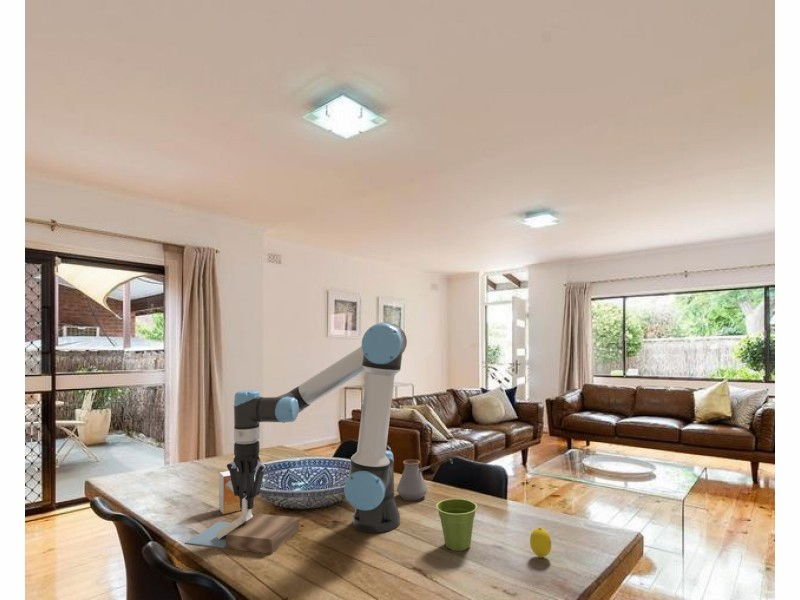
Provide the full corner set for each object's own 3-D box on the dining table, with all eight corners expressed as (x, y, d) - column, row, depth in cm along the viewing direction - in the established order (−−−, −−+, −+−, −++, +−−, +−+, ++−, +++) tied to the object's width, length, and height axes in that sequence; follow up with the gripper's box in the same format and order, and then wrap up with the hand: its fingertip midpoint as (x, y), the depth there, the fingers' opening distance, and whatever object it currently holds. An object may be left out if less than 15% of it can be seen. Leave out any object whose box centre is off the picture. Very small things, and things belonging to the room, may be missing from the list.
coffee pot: (393, 501, 174) (392, 459, 175) (401, 490, 185) (401, 451, 186) (450, 505, 168) (449, 462, 169) (456, 494, 179) (455, 454, 180)
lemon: (535, 551, 132) (534, 521, 133) (555, 556, 129) (554, 526, 129) (527, 558, 128) (526, 528, 128) (547, 565, 124) (545, 533, 125)
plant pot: (430, 541, 140) (429, 502, 141) (466, 534, 144) (464, 496, 145) (448, 559, 129) (447, 516, 130) (486, 550, 133) (485, 509, 134)
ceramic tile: (253, 516, 150) (250, 510, 150) (237, 526, 142) (234, 520, 143) (234, 528, 151) (231, 523, 152) (218, 539, 144) (215, 533, 144)
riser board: (299, 530, 150) (298, 517, 150) (271, 554, 134) (271, 539, 134) (257, 526, 154) (257, 513, 154) (226, 548, 138) (226, 534, 139)
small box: (223, 515, 164) (223, 476, 165) (218, 509, 169) (218, 472, 170) (246, 509, 169) (246, 472, 169) (242, 504, 174) (241, 468, 175)
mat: (255, 526, 154) (255, 525, 154) (223, 548, 139) (223, 547, 139) (219, 522, 158) (219, 521, 158) (184, 543, 142) (184, 542, 142)
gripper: (221, 443, 146) (220, 522, 144) (258, 445, 142) (258, 526, 140) (236, 437, 153) (235, 513, 151) (271, 439, 149) (272, 516, 148)
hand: (246, 519), depth 146 cm, fingers closed
